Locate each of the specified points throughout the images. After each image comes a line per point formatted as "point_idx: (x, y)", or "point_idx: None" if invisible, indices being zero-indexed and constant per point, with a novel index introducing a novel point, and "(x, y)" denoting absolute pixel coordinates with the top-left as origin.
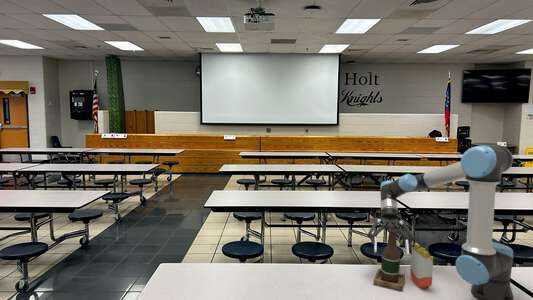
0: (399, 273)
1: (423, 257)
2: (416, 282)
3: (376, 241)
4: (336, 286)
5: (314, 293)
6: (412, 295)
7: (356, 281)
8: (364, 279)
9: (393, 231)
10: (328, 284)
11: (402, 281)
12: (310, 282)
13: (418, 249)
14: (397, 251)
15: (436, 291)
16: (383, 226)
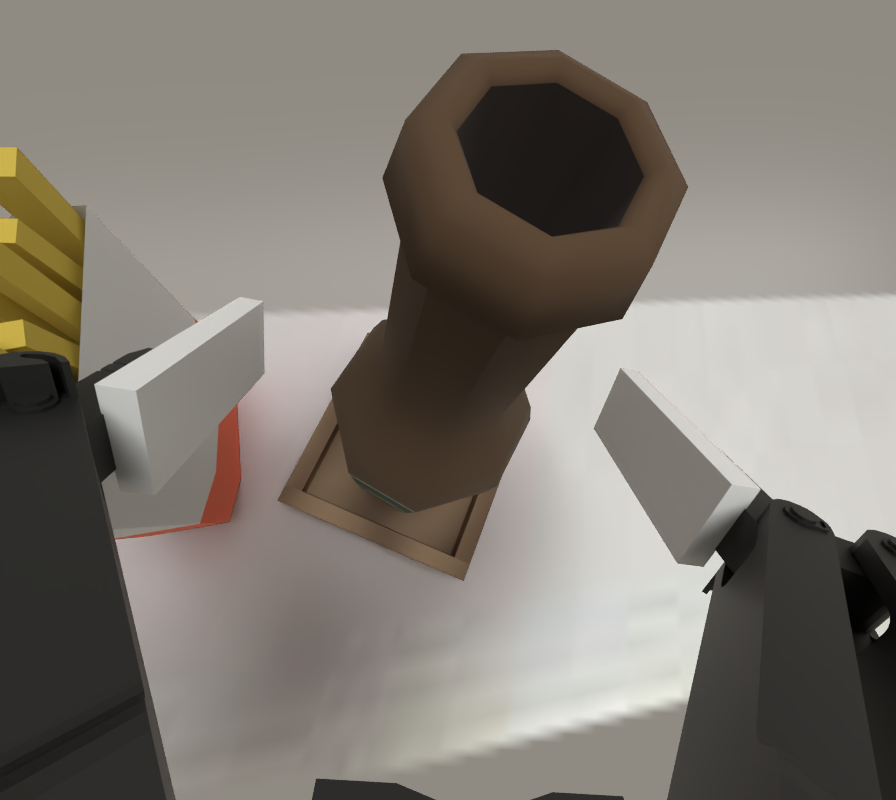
0: (318, 515)
1: (85, 231)
2: (231, 426)
3: (679, 432)
4: (705, 382)
5: (789, 314)
6: (320, 312)
7: None
8: (558, 477)
9: (548, 69)
10: (744, 399)
11: None
12: (827, 413)
13: (29, 341)
14: (383, 322)
15: None
16: (791, 765)
